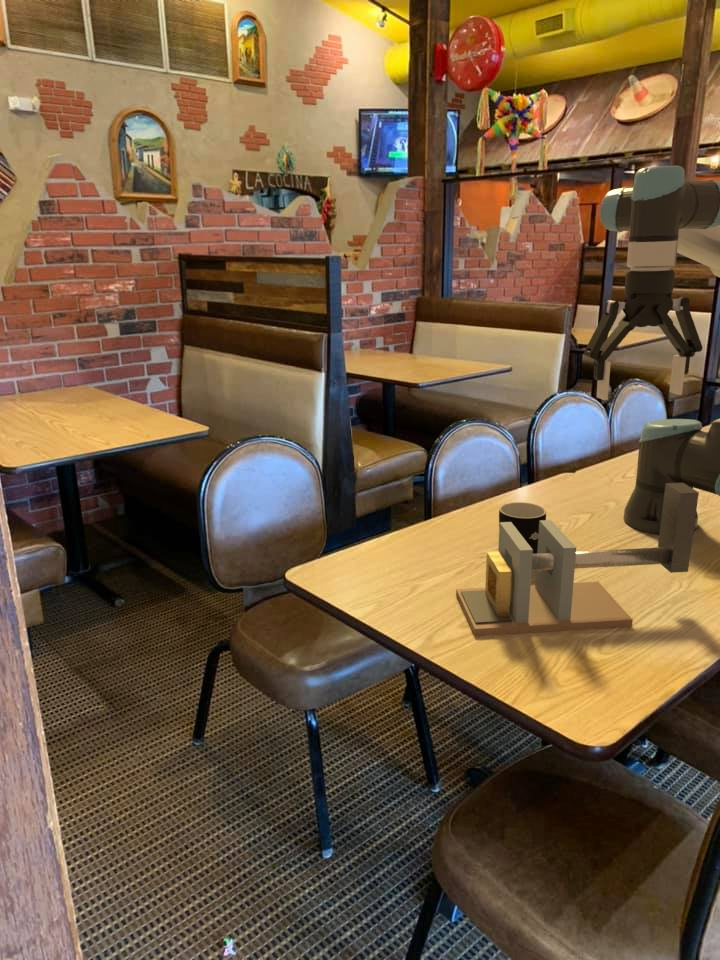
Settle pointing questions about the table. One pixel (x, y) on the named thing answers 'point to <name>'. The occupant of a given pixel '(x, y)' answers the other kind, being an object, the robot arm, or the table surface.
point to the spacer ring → (498, 583)
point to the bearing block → (542, 591)
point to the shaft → (668, 554)
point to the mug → (524, 520)
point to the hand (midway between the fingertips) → (639, 396)
